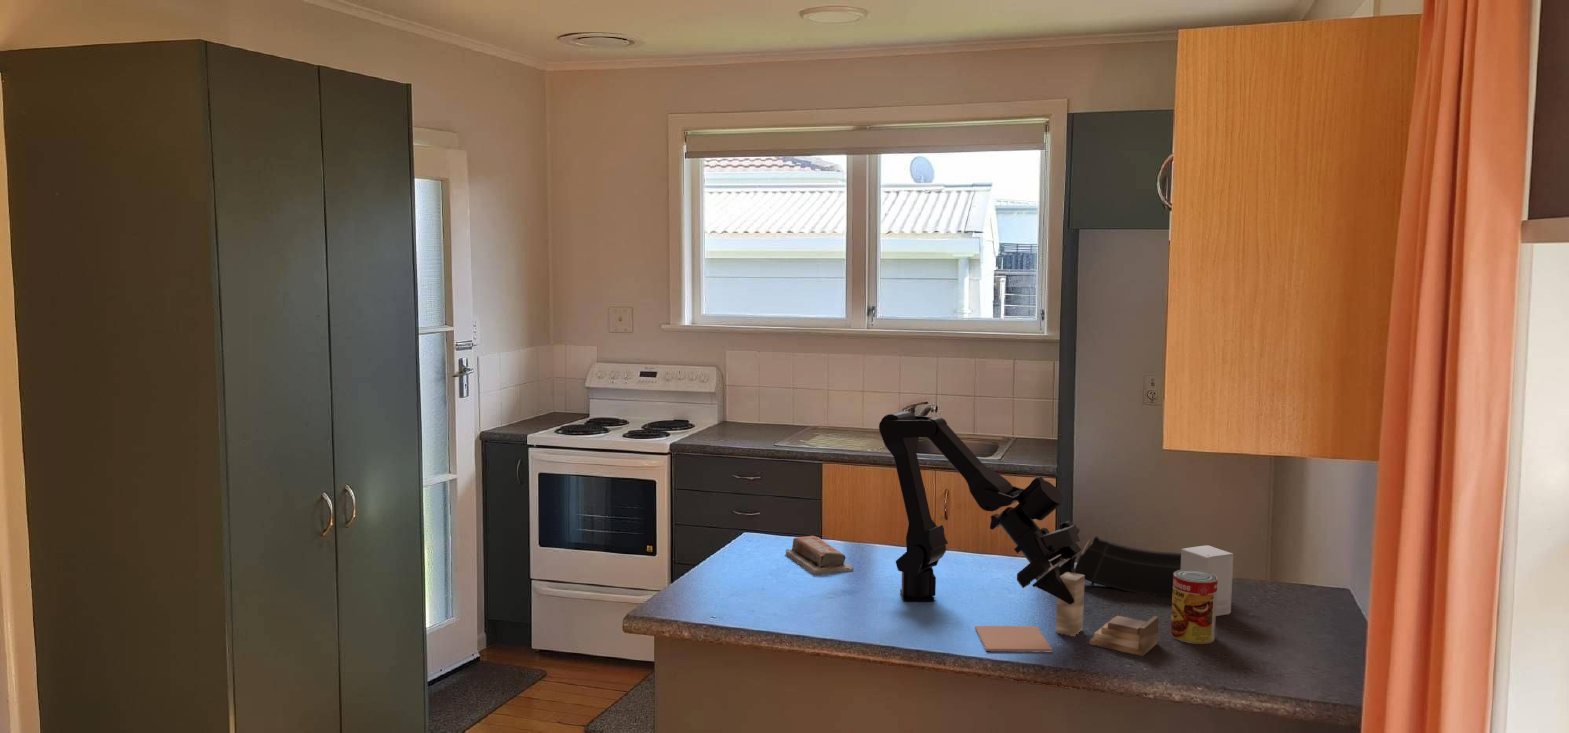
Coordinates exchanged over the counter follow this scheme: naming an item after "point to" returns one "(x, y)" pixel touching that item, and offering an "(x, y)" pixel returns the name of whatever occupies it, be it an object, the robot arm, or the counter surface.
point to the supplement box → (1212, 571)
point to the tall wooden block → (1071, 605)
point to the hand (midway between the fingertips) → (1077, 599)
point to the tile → (1012, 638)
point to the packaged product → (817, 556)
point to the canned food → (1194, 606)
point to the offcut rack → (1127, 635)
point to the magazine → (1128, 567)
